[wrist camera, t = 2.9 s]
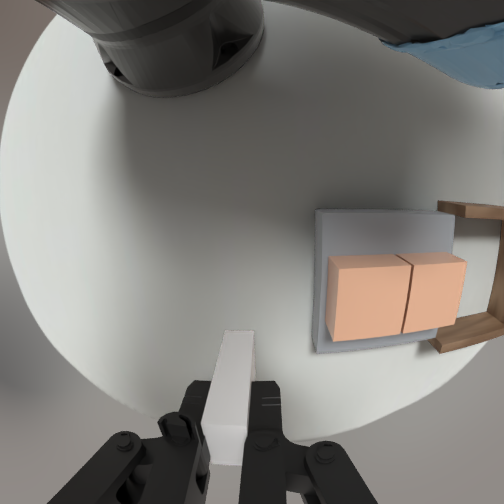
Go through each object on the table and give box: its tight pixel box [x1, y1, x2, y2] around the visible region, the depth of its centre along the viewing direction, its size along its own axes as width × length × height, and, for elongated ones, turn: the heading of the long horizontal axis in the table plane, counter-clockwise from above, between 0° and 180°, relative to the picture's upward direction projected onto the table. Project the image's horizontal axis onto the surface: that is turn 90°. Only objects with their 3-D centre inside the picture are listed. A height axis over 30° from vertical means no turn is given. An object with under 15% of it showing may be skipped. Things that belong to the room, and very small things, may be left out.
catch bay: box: [427, 201, 504, 354], centre depth 21 cm, size 14×12×4 cm
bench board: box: [312, 209, 455, 354], centre depth 22 cm, size 12×12×3 cm
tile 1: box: [325, 254, 411, 342], centre depth 19 cm, size 6×6×3 cm
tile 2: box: [396, 252, 467, 334], centre depth 19 cm, size 6×6×3 cm
